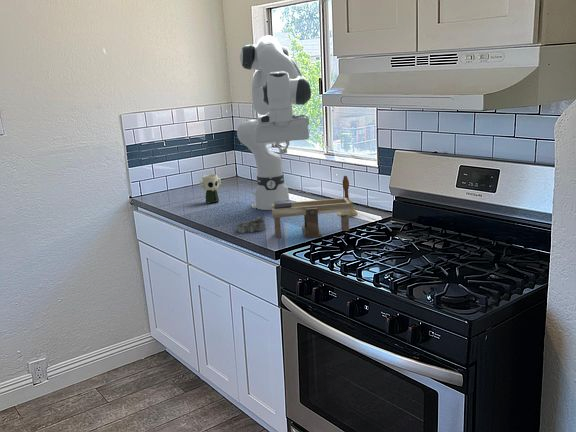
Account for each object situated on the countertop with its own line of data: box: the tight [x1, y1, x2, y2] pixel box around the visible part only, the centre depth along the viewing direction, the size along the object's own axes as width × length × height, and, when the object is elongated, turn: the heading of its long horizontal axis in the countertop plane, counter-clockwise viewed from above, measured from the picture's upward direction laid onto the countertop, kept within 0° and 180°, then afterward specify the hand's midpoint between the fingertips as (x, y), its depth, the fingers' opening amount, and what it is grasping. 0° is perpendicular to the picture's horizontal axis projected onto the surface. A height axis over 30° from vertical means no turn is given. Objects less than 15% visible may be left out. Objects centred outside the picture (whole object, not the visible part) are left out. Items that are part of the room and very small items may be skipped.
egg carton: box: [236, 216, 266, 234], centre depth 226 cm, size 11×8×4 cm
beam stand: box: [273, 208, 350, 239], centre depth 216 cm, size 14×27×10 cm, turn 93°
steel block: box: [274, 199, 292, 209], centre depth 214 cm, size 5×6×4 cm
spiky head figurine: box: [199, 174, 222, 203], centre depth 277 cm, size 11×7×13 cm, turn 126°
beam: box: [271, 197, 350, 219], centre depth 215 cm, size 9×28×3 cm, turn 93°
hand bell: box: [336, 175, 359, 217], centre depth 238 cm, size 8×8×16 cm
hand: (283, 153), depth 221 cm, fingers closed
